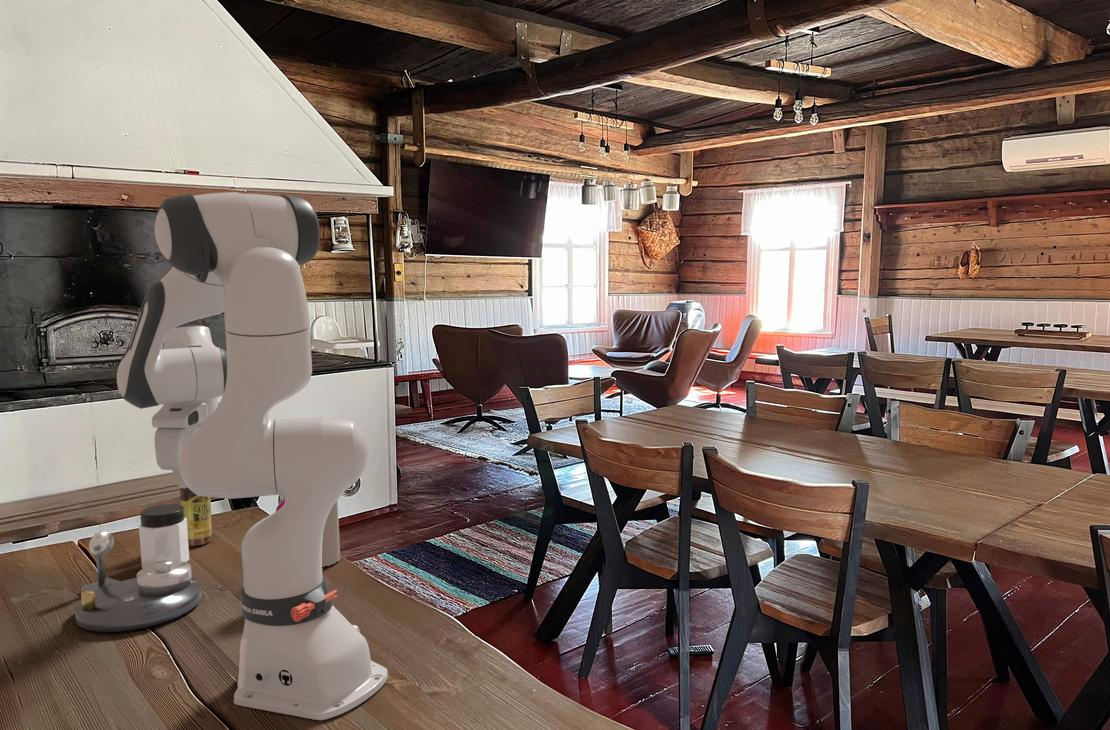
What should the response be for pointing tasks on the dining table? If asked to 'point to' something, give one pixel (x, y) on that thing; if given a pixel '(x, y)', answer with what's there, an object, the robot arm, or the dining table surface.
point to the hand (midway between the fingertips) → (198, 479)
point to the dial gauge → (100, 559)
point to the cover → (164, 577)
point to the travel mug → (331, 538)
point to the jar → (163, 534)
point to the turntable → (132, 606)
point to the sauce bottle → (197, 517)
